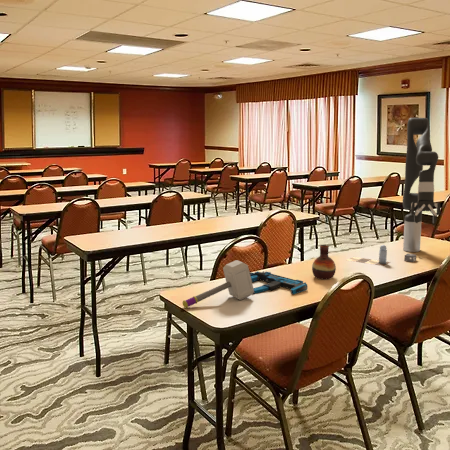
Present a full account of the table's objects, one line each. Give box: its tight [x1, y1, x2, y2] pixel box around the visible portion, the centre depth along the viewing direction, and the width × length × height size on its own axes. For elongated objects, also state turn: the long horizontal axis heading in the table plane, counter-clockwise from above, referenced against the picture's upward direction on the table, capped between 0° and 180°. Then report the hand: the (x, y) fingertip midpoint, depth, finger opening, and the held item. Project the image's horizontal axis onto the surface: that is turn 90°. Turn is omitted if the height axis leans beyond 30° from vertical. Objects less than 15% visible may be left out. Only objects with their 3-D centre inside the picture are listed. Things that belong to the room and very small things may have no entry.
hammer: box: [182, 259, 254, 309], centre depth 219 cm, size 15×8×30 cm
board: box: [347, 256, 391, 267], centre depth 280 cm, size 10×21×1 cm, turn 51°
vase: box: [311, 244, 337, 281], centre depth 254 cm, size 11×11×15 cm
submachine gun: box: [249, 270, 308, 295], centre depth 242 cm, size 34×4×25 cm
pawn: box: [378, 244, 388, 265], centre depth 274 cm, size 4×4×10 cm
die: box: [403, 253, 417, 263], centre depth 280 cm, size 5×5×5 cm
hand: (425, 223), depth 271 cm, fingers open, 8 cm apart
